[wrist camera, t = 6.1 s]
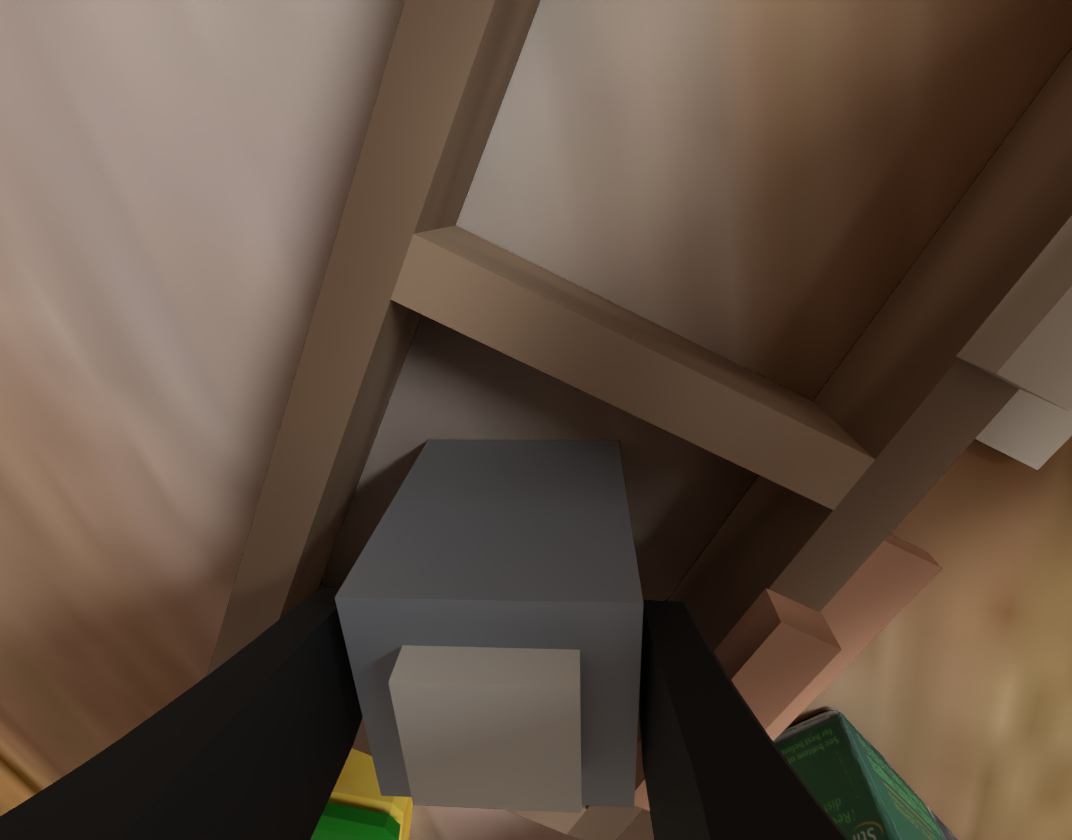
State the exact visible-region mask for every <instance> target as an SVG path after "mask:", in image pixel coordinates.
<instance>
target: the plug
mask: <svg viewBox="0 0 1072 840" xmlns="http://www.w3.org/2000/svg"><path fill="white" fill-rule="evenodd" d="M335 602H336V606H337V610H338V614H339V619H340V623H341V627H342V631H343V636H344V640H345V644H346V648H347V653H348V657H349V661H350V665H351V670H352V674H353V678H354V682H355V687H356V691H357V695H358V699H359V704H360V708H361V712H362V716H363V721H364V725H365V729H366V733H367V738H368V742H369V746H370V750H371V755H372V759H373V763H374V767H375V772H376V776H377V780H378V784H379V789H380V793H381V796H399V797H412V802H413V805H423V806H443V807H464V808H484V809H505V810H525V811H545V812H566V813H582V805H587V806H607V807H628V808H634V799H635V777H636V756H637V734H638V712H639V690H640V668H641V646H642V624H643V597H642V591H641V584H640V578H639V571H638V565H637V559H636V552H635V546H634V539H633V533H632V527H631V520H630V514H629V507H628V501H627V495H626V488H625V482H624V475H623V469H622V462H621V456H620V450H619V443H618V440H428V441H427V443H426V444H425V446H424V448H423V449H422V451H421V453H420V455H419V456H418V458H417V460H416V461H415V463H414V465H413V466H412V468H411V470H410V471H409V473H408V475H407V476H406V478H405V480H404V482H403V483H402V485H401V487H400V488H399V490H398V492H397V493H396V495H395V497H394V498H393V500H392V502H391V503H390V505H389V507H388V508H387V510H386V512H385V514H384V515H383V517H382V519H381V520H380V522H379V524H378V525H377V527H376V529H375V530H374V532H373V534H372V535H371V537H370V539H369V541H368V542H367V544H366V546H365V547H364V549H363V551H362V552H361V554H360V556H359V557H358V559H357V561H356V562H355V564H354V566H353V567H352V569H351V571H350V573H349V574H348V576H347V578H346V579H345V581H344V583H343V584H342V586H341V588H340V589H339V591H338V593H337V594H336V596H335Z"/></svg>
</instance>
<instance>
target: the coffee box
mask: <svg viewBox="0 0 1072 840" xmlns="http://www.w3.org/2000/svg"><path fill="white" fill-rule="evenodd" d="M773 742H774V743H775V745H776V746H777V748H778V749H779V750H780V752H781V753H782V754H783V756H784V757H785V759H786V760H787V761H788V763H789V764H790V765H791V767H792V768H793V769H794V771H795V772H796V773H797V774H798V776H799V777H800V778H801V780H802V781H803V782H804V784H805V785H806V786H807V788H808V789H809V790H810V792H811V793H812V794H813V796H814V797H815V798H816V799H817V801H818V802H819V803H820V805H821V806H822V807H823V808H824V810H825V811H826V812H827V813H828V815H829V816H830V817H831V819H832V820H833V821H834V822H835V823H836V825H837V826H838V827H839V828H840V830H841V831H842V832H843V833H844V835H845V836H846V837H847V838H848V840H957V839H956V837H955V836H954V835H953V834H952V832H951V831H950V830H949V829H948V828H947V827H946V826H945V825H944V824H943V823H942V822H941V821H940V820H939V819H938V817H937V816H936V815H935V814H934V813H933V812H932V811H931V810H930V809H929V808H928V806H927V805H926V804H925V803H924V802H923V801H922V800H921V799H920V798H919V797H918V796H917V795H916V794H915V793H914V792H913V790H912V789H911V788H910V787H909V786H908V785H907V784H906V782H905V781H904V780H903V779H902V778H900V776H899V775H898V774H897V773H896V772H895V771H894V770H893V769H892V768H891V767H890V766H889V764H888V763H887V762H886V761H885V759H884V757H883V756H882V755H881V754H880V753H879V752H878V751H877V750H876V749H875V748H874V747H873V746H872V745H871V744H870V743H869V742H868V741H867V740H865V739H864V738H863V736H862V735H861V734H860V733H859V732H858V731H857V730H856V729H855V728H854V727H853V725H852V724H851V723H850V722H849V721H848V720H847V719H846V718H845V716H844V715H843V714H842V713H840V712H838V711H834V710H831V711H827V712H824V713H821V714H818V715H816V716H814V717H812V718H810V719H808V720H805V721H803V722H800V723H798V724H796V725H794V726H792V727H789V728H787V729H785V730H784V731H783V732H782V733H781V734H780V735H779V736H778V737H777V738H776V739H775V740H774V741H773Z"/></svg>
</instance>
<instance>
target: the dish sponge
mask: <svg viewBox="0 0 1072 840" xmlns="http://www.w3.org/2000/svg"><path fill="white" fill-rule="evenodd" d="M412 808H413V802H412V797H399V796H381V793H380V789H379V784H378V780H377V776H376V772H375V767H374V763H373V759H372V756H370V755H368V754H365V753H363V752H360V751H358V750H355V749H353V748H352V749H351V751H350V753H349V756H348V758H347V760H346V762H345V765H344V767H343V769H342V771H341V774H340V776H339V778H338V780H337V782H336V785H335V787H334V789H333V791H332V794H331V796H330V798H329V800H328V802H327V805H326V807H325V809H324V811H323V813H322V816H321V818H320V820H319V822H318V824H317V826H316V829H315V831H314V833H313V835H312V837H311V840H409V833H410V825H411V816H412Z"/></svg>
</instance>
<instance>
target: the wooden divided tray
mask: <svg viewBox="0 0 1072 840" xmlns="http://www.w3.org/2000/svg"><path fill="white" fill-rule="evenodd" d="M539 2H540V0H405V3H404V6H403V9H402V13H401V16H400V20H399V23H398V26H397V30H396V33H395V37H394V40H393V44H392V47H391V50H390V54H389V57H388V61H387V64H386V67H385V71H384V74H383V78H382V81H381V85H380V88H379V91H378V95H377V98H376V102H375V105H374V108H373V112H372V115H371V119H370V122H369V125H368V129H367V132H366V136H365V139H364V143H363V146H362V149H361V153H360V156H359V160H358V163H357V166H356V170H355V173H354V177H353V180H352V184H351V187H350V190H349V194H348V197H347V201H346V204H345V207H344V211H343V214H342V218H341V221H340V224H339V228H338V231H337V235H336V238H335V242H334V245H333V248H332V252H331V255H330V259H329V262H328V265H327V269H326V272H325V276H324V279H323V283H322V286H321V289H320V293H319V296H318V300H317V303H316V306H315V310H314V313H313V317H312V320H311V323H310V327H309V330H308V334H307V337H306V341H305V344H304V347H303V351H302V354H301V358H300V361H299V364H298V368H297V371H296V375H295V378H294V382H293V385H292V388H291V392H290V395H289V399H288V402H287V405H286V409H285V412H284V416H283V419H282V423H281V426H280V429H279V433H278V436H277V440H276V443H275V446H274V450H273V453H272V457H271V460H270V463H269V467H268V470H267V474H266V477H265V481H264V484H263V487H262V491H261V494H260V498H259V501H258V504H257V508H256V511H255V515H254V518H253V522H252V525H251V528H250V532H249V535H248V539H247V542H246V545H245V549H244V552H243V556H242V559H241V562H240V566H239V569H238V573H237V576H236V580H235V583H234V586H233V590H232V593H231V597H230V600H229V603H228V607H227V610H226V614H225V617H224V621H223V624H222V627H221V631H220V634H219V638H218V641H217V644H216V648H215V651H214V655H213V658H212V661H211V665H210V668H209V672H208V675H209V674H210V673H211V672H213V671H214V670H215V669H217V668H218V667H219V666H220V665H222V664H223V663H224V662H226V661H227V660H228V659H230V658H231V657H232V656H233V655H235V654H236V653H237V652H239V651H240V650H241V649H242V648H244V647H245V646H246V645H248V644H249V643H250V642H252V641H253V640H254V639H255V638H257V637H258V636H259V635H260V634H262V633H263V632H264V631H266V630H267V629H268V628H269V627H271V626H272V625H273V624H274V623H276V622H277V621H278V620H279V619H281V618H282V617H283V616H285V615H286V614H287V613H288V612H290V611H291V610H292V609H293V608H295V607H296V606H297V605H299V604H300V603H301V602H303V601H304V600H305V599H306V598H308V597H309V596H310V595H312V594H313V593H315V592H316V591H317V590H318V588H319V585H320V582H321V580H322V577H323V575H324V572H325V569H326V567H327V564H328V561H329V559H330V556H331V553H332V551H333V548H334V545H335V543H336V540H337V537H338V535H339V532H340V530H341V527H342V524H343V522H344V519H345V516H346V514H347V511H348V508H349V506H350V503H351V500H352V498H353V495H354V492H355V490H356V487H357V484H358V482H359V479H360V477H361V474H362V471H363V469H364V466H365V463H366V461H367V458H368V455H369V453H370V450H371V447H372V445H373V442H374V439H375V437H376V434H377V431H378V429H379V426H380V424H381V421H382V418H383V416H384V413H385V410H386V408H387V405H388V402H389V400H390V397H391V394H392V392H393V389H394V386H395V384H396V381H397V379H398V376H399V373H400V371H401V368H402V365H403V363H404V360H405V357H406V355H407V352H408V349H409V347H410V344H411V341H412V339H413V336H414V333H415V331H416V328H417V326H418V323H419V320H420V318H421V315H424V316H426V317H428V318H431V319H433V320H435V321H437V322H439V323H441V324H443V325H445V326H447V327H449V328H452V329H454V330H456V331H458V332H460V333H462V334H464V335H466V336H468V337H470V338H473V339H475V340H477V341H479V342H481V343H483V344H485V345H487V346H489V347H491V348H494V349H496V350H498V351H500V352H502V353H504V354H506V355H508V356H510V357H513V358H515V359H517V360H519V361H521V362H523V363H525V364H527V365H529V366H531V367H534V368H536V369H538V370H540V371H542V372H544V373H546V374H548V375H550V376H552V377H555V378H557V379H559V380H561V381H563V382H565V383H567V384H569V385H571V386H573V387H576V388H578V389H580V390H582V391H584V392H586V393H588V394H590V395H592V396H594V397H597V398H599V399H601V400H603V401H605V402H607V403H609V404H611V405H613V406H615V407H618V408H620V409H622V410H624V411H626V412H628V413H630V414H632V415H634V416H636V417H639V418H641V419H643V420H645V421H647V422H649V423H651V424H653V425H655V426H657V427H660V428H662V429H664V430H666V431H668V432H670V433H672V434H674V435H676V436H678V437H681V438H683V439H685V440H687V441H689V442H691V443H693V444H695V445H697V446H700V447H702V448H704V449H706V450H708V451H710V452H712V453H714V454H716V455H718V456H721V457H723V458H725V459H727V460H729V461H731V462H733V463H735V464H737V465H739V466H742V467H744V468H746V469H748V470H750V471H752V472H754V473H756V474H758V475H759V476H758V477H757V479H756V480H755V481H754V483H753V484H752V485H751V487H750V488H749V490H748V491H747V492H746V494H745V495H744V496H743V498H742V499H741V500H740V502H739V503H738V505H737V506H736V507H735V509H734V510H733V511H732V513H731V514H730V515H729V517H728V518H727V520H726V521H725V522H724V524H723V525H722V526H721V528H720V529H719V531H718V532H717V533H716V535H715V536H714V537H713V539H712V540H711V541H710V543H709V544H708V546H707V547H706V548H705V550H704V551H703V552H702V554H701V555H700V556H699V558H698V559H697V561H696V562H695V563H694V565H693V566H692V567H691V569H690V570H689V571H688V573H687V574H686V576H685V577H684V578H683V580H682V581H681V582H680V584H679V585H678V587H677V588H676V589H675V591H674V592H673V593H672V595H671V596H670V597H669V599H668V600H667V601H680V602H684V603H685V604H686V605H687V606H688V607H689V608H690V610H691V612H692V614H693V616H694V618H695V620H696V622H697V624H698V625H699V627H700V629H701V631H702V633H703V634H704V636H705V638H706V640H707V641H708V643H709V645H710V646H711V648H712V650H713V652H714V653H715V655H716V656H717V658H718V660H719V661H720V663H721V664H722V666H723V668H724V669H725V671H726V673H727V674H728V676H729V677H730V679H731V680H732V682H733V683H734V685H735V687H736V688H737V690H738V691H739V693H740V694H741V696H742V697H743V699H744V700H745V701H746V703H747V704H748V706H749V707H750V709H751V710H752V712H753V713H754V715H755V716H756V718H757V719H758V721H759V722H760V723H761V725H762V726H763V728H764V729H765V731H766V732H767V734H768V735H769V736H770V738H771V739H772V741H774V740H775V739H776V738H777V737H778V736H779V735H780V734H781V733H782V732H783V731H784V730H785V729H786V728H787V727H788V726H789V725H790V724H791V723H792V722H793V721H794V719H795V718H796V717H797V716H798V715H799V714H800V713H801V712H802V711H803V710H804V709H805V708H806V707H807V706H808V705H809V704H810V703H811V702H812V701H813V700H814V699H815V698H816V697H817V696H818V695H819V694H820V693H821V692H822V691H823V690H824V689H825V688H826V687H827V686H828V685H829V684H830V683H831V682H832V681H833V680H834V679H835V677H836V676H837V675H838V674H839V673H840V672H841V671H842V670H843V669H844V668H845V667H846V666H847V665H848V664H849V663H850V662H851V661H852V660H853V659H854V658H855V657H856V656H857V655H858V654H859V653H860V652H861V651H862V650H863V649H864V648H865V647H866V646H867V645H868V644H869V643H870V642H871V641H872V640H873V639H874V638H875V637H876V635H877V634H878V633H879V632H880V631H881V630H882V629H883V628H884V627H885V626H886V625H887V624H888V623H889V622H890V621H891V620H892V619H893V618H894V617H895V616H896V615H897V614H898V613H899V612H900V611H901V610H902V609H903V608H904V607H905V606H906V605H907V604H908V603H909V602H910V601H911V600H912V599H913V598H914V597H915V596H916V595H917V593H918V592H919V591H920V590H921V589H922V588H923V587H924V586H925V585H926V584H927V583H928V582H929V581H930V580H931V579H932V578H933V577H934V576H935V575H936V574H937V573H938V572H939V571H940V570H941V569H942V567H941V566H940V565H939V564H938V563H937V562H936V561H935V560H934V559H933V558H932V557H931V556H930V555H929V554H928V553H927V552H925V551H922V550H920V549H918V548H916V547H914V546H912V545H910V544H908V543H906V542H904V541H901V540H899V539H897V538H895V537H893V536H891V535H889V534H890V533H891V532H892V531H893V530H894V529H895V528H896V527H897V525H898V524H899V523H900V522H901V521H902V520H903V519H904V518H905V516H906V515H907V514H908V513H909V512H910V511H911V510H912V509H913V508H914V506H915V505H916V504H917V503H918V502H919V501H920V500H921V499H922V497H923V496H924V495H925V494H926V493H927V492H928V491H929V490H930V489H931V487H932V486H933V485H934V484H935V483H936V482H937V481H938V480H939V479H940V477H941V476H942V475H943V474H944V473H945V472H946V471H947V470H948V468H949V467H950V466H951V465H952V464H953V463H954V462H955V461H956V460H957V458H958V457H959V456H960V455H961V454H962V453H963V452H964V451H965V449H966V448H967V447H968V446H969V445H970V444H971V443H972V442H973V441H974V439H976V440H978V441H980V442H982V443H984V444H986V445H988V446H990V447H992V448H994V449H996V450H998V451H1000V452H1002V453H1004V454H1006V455H1008V456H1010V457H1012V458H1014V459H1016V460H1018V461H1020V462H1022V463H1024V464H1026V465H1028V466H1030V467H1032V468H1034V469H1036V470H1039V469H1040V467H1041V466H1042V465H1043V464H1044V463H1045V462H1046V461H1047V460H1048V459H1049V458H1050V457H1051V456H1052V455H1053V454H1054V453H1055V452H1056V451H1057V450H1058V449H1059V448H1060V447H1061V446H1062V445H1063V444H1064V443H1065V442H1066V441H1067V440H1068V439H1069V438H1070V437H1071V436H1072V48H1071V50H1070V51H1069V52H1068V54H1067V55H1066V57H1065V58H1064V59H1063V61H1062V62H1061V63H1060V65H1059V66H1058V67H1057V69H1056V70H1055V72H1054V73H1053V74H1052V76H1051V77H1050V78H1049V80H1048V81H1047V82H1046V84H1045V85H1044V87H1043V88H1042V89H1041V91H1040V92H1039V93H1038V95H1037V96H1036V97H1035V99H1034V100H1033V102H1032V103H1031V104H1030V106H1029V107H1028V108H1027V110H1026V111H1025V113H1024V114H1023V115H1022V117H1021V118H1020V119H1019V121H1018V122H1017V123H1016V125H1015V126H1014V128H1013V129H1012V130H1011V132H1010V133H1009V134H1008V136H1007V137H1006V138H1005V140H1004V141H1003V143H1002V144H1001V145H1000V147H999V148H998V149H997V151H996V152H995V153H994V155H993V156H992V158H991V159H990V160H989V162H988V163H987V164H986V166H985V167H984V169H983V170H982V171H981V173H980V174H979V175H978V177H977V178H976V179H975V181H974V182H973V184H972V185H971V186H970V188H969V189H968V190H967V192H966V193H965V194H964V196H963V197H962V199H961V200H960V201H959V203H958V204H957V205H956V207H955V208H954V210H953V211H952V212H951V214H950V215H949V216H948V218H947V219H946V220H945V222H944V223H943V225H942V226H941V227H940V229H939V230H938V231H937V233H936V234H935V235H934V237H933V238H932V240H931V241H930V242H929V244H928V245H927V246H926V248H925V249H924V250H923V252H922V253H921V255H920V256H919V257H918V259H917V260H916V261H915V263H914V264H913V266H912V267H911V268H910V270H909V271H908V272H907V274H906V275H905V276H904V278H903V279H902V281H901V282H900V283H899V285H898V286H897V287H896V289H895V290H894V291H893V293H892V294H891V296H890V297H889V298H888V300H887V301H886V302H885V304H884V305H883V306H882V308H881V309H880V311H879V312H878V313H877V315H876V316H875V317H874V319H873V320H872V322H871V323H870V324H869V326H868V327H867V328H866V330H865V331H864V332H863V334H862V335H861V337H860V338H859V339H858V341H857V342H856V343H855V345H854V346H853V347H852V349H851V350H850V352H849V353H848V354H847V356H846V357H845V358H844V360H843V361H842V362H841V364H840V365H839V367H838V368H837V369H836V371H835V372H834V373H833V375H832V376H831V378H830V379H829V380H828V382H827V383H826V384H825V386H824V387H823V388H822V390H821V391H820V393H819V394H818V395H817V397H816V398H815V399H814V401H811V400H809V399H807V398H805V397H803V396H801V395H799V394H797V393H795V392H793V391H791V390H789V389H786V388H784V387H782V386H780V385H778V384H776V383H774V382H772V381H770V380H768V379H766V378H764V377H762V376H760V375H758V374H756V373H754V372H752V371H750V370H748V369H746V368H744V367H742V366H740V365H738V364H736V363H734V362H732V361H730V360H728V359H726V358H724V357H722V356H720V355H717V354H715V353H713V352H711V351H709V350H707V349H705V348H703V347H701V346H699V345H697V344H695V343H693V342H691V341H689V340H687V339H685V338H683V337H681V336H679V335H677V334H675V333H673V332H671V331H669V330H667V329H665V328H663V327H661V326H659V325H657V324H655V323H653V322H651V321H648V320H646V319H644V318H642V317H640V316H638V315H636V314H634V313H632V312H630V311H628V310H626V309H624V308H622V307H620V306H618V305H616V304H614V303H612V302H610V301H608V300H606V299H604V298H602V297H600V296H598V295H596V294H594V293H592V292H590V291H588V290H586V289H584V288H582V287H579V286H577V285H575V284H573V283H571V282H569V281H567V280H565V279H563V278H561V277H559V276H557V275H555V274H553V273H551V272H549V271H547V270H545V269H543V268H541V267H539V266H537V265H535V264H533V263H531V262H529V261H527V260H525V259H523V258H521V257H519V256H517V255H515V254H513V253H510V252H508V251H506V250H504V249H502V248H500V247H498V246H496V245H494V244H492V243H490V242H488V241H486V240H484V239H482V238H480V237H478V236H476V235H474V234H472V233H470V232H468V231H466V230H464V229H462V228H460V227H458V226H456V222H457V220H458V217H459V214H460V212H461V209H462V206H463V204H464V201H465V198H466V196H467V193H468V190H469V188H470V185H471V182H472V180H473V177H474V175H475V172H476V169H477V167H478V164H479V161H480V159H481V156H482V153H483V151H484V148H485V145H486V143H487V140H488V137H489V135H490V132H491V130H492V127H493V124H494V122H495V119H496V116H497V114H498V111H499V108H500V106H501V103H502V100H503V98H504V95H505V92H506V90H507V87H508V84H509V82H510V79H511V77H512V74H513V71H514V69H515V66H516V63H517V61H518V58H519V55H520V53H521V50H522V47H523V45H524V42H525V39H526V37H527V34H528V31H529V29H530V26H531V24H532V21H533V18H534V16H535V13H536V10H537V8H538V5H539ZM208 675H207V676H208ZM352 748H353V749H355V750H358V751H360V752H363V753H365V754H368V755H370V756H372V755H371V750H370V746H369V742H368V738H367V733H366V729H365V725H364V721H363V718H362V721H361V724H360V727H359V729H358V732H357V735H356V738H355V741H354V744H353V746H352ZM643 809H645V810H647V811H650V808H649V802H648V796H647V789H646V783H645V776H644V770H643V762H642V747H641V733H640V716H639V712H638V734H637V756H636V777H635V799H634V808H628V807H607V806H587V805H582V813H566V812H545V811H525V810H507V811H509V812H512V813H514V814H517V815H519V816H522V817H524V818H527V819H529V820H532V821H534V822H537V823H539V824H542V825H544V826H547V827H549V828H552V829H554V830H556V831H559V832H561V833H564V834H566V835H569V836H571V837H574V838H576V839H579V840H616V839H617V838H618V837H619V836H620V835H621V834H622V832H623V831H624V830H625V829H626V828H627V827H628V826H629V825H630V824H631V822H632V821H633V820H634V819H635V818H636V817H637V816H638V815H639V813H640V812H641V811H642V810H643ZM504 810H505V809H504Z"/></svg>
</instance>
